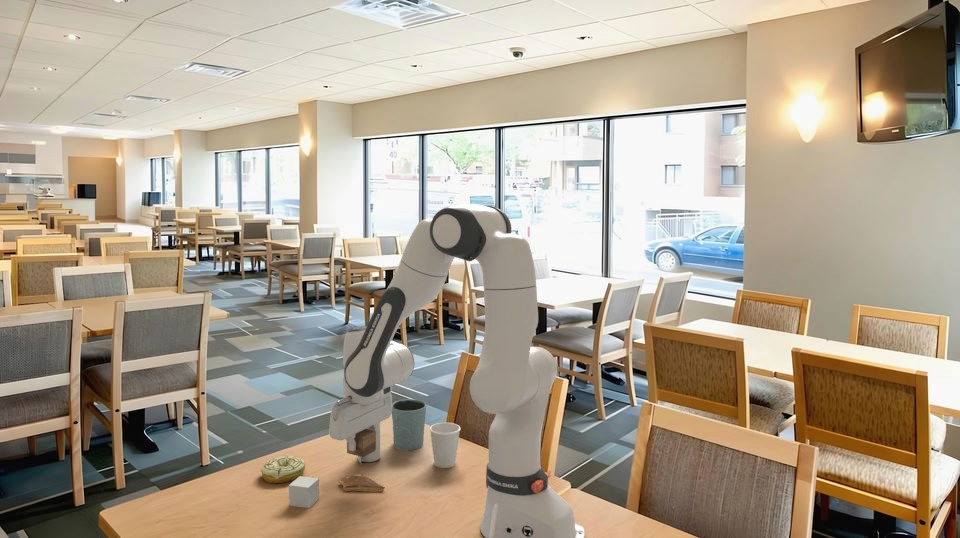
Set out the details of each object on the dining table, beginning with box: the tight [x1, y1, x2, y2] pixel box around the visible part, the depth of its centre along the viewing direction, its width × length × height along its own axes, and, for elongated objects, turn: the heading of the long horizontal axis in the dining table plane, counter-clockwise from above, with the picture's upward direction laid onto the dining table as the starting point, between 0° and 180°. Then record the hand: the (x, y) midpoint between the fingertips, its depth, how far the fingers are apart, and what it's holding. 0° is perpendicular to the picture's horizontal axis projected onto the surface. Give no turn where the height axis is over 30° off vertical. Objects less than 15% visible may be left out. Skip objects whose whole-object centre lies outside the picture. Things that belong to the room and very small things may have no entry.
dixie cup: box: [429, 422, 461, 469], centre depth 172 cm, size 8×8×10 cm
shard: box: [338, 474, 386, 492], centre depth 157 cm, size 11×8×2 cm
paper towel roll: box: [357, 422, 381, 464], centre depth 174 cm, size 7×6×21 cm
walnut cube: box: [346, 429, 376, 457], centre depth 158 cm, size 5×5×5 cm
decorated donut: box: [260, 455, 306, 484], centre depth 164 cm, size 10×11×4 cm
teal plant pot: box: [391, 398, 427, 451], centre depth 185 cm, size 10×10×12 cm
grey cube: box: [288, 475, 320, 509], centre depth 150 cm, size 5×5×5 cm
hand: (361, 445), depth 158 cm, fingers closed on walnut cube, 5 cm apart
